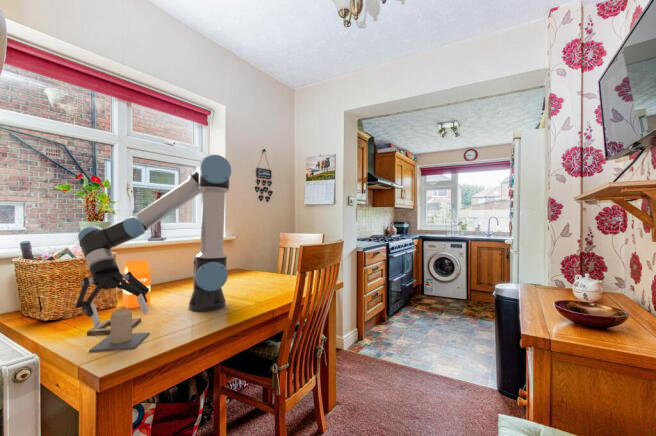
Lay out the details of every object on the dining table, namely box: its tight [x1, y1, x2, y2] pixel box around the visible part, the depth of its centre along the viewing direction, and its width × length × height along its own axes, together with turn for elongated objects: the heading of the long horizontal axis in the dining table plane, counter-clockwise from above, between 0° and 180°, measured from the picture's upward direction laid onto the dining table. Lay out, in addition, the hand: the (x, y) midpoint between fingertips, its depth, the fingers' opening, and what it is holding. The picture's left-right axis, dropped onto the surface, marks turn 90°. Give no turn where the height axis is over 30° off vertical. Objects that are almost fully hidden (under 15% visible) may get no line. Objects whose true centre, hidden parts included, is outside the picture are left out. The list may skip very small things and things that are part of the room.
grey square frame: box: [86, 317, 142, 336], centre depth 108 cm, size 12×12×1 cm
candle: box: [109, 307, 133, 344], centre depth 95 cm, size 6×6×10 cm
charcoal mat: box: [88, 331, 150, 353], centre depth 95 cm, size 12×12×1 cm
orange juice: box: [122, 259, 151, 309], centre depth 138 cm, size 8×9×20 cm
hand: (123, 317), depth 94 cm, fingers open, 13 cm apart
